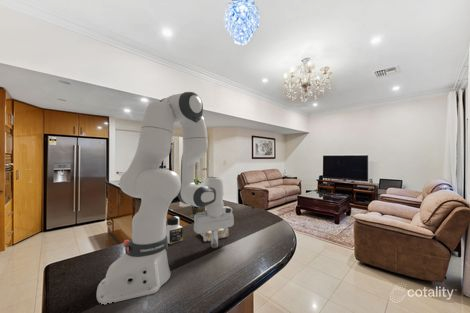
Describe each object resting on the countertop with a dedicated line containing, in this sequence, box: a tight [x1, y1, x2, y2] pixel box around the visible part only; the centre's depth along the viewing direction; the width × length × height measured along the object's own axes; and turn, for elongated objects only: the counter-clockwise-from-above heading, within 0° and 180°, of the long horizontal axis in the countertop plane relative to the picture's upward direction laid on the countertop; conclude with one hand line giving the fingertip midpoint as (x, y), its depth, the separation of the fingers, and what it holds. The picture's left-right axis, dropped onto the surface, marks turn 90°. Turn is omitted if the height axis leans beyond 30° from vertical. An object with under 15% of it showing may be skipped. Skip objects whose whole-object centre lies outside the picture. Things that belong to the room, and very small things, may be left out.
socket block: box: [199, 227, 230, 242], centre depth 110 cm, size 12×12×4 cm
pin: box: [210, 230, 219, 249], centre depth 96 cm, size 3×3×9 cm
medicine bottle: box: [166, 216, 184, 245], centre depth 103 cm, size 7×7×12 cm
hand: (214, 238), depth 96 cm, fingers open, 8 cm apart
